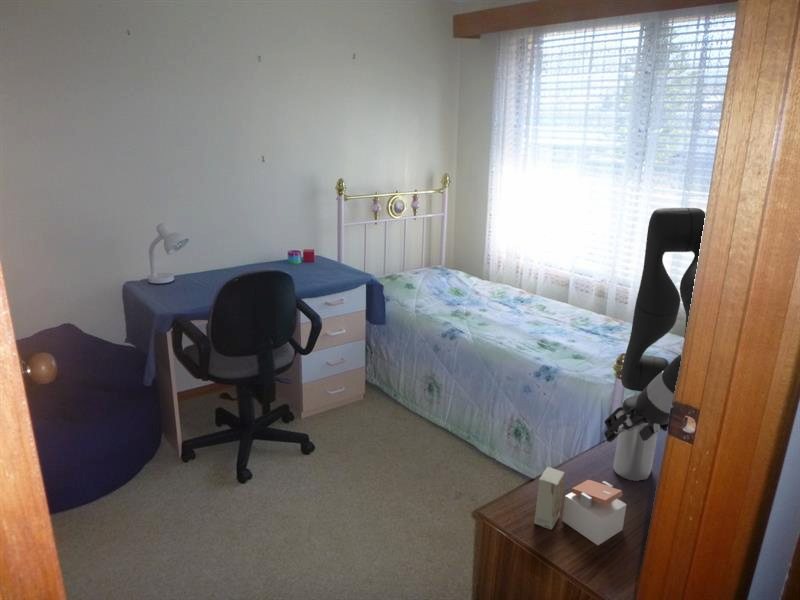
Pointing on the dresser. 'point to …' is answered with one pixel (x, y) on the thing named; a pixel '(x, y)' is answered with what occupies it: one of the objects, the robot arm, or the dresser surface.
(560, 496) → the skincare box
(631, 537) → the dresser surface
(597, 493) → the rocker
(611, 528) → the switch box
